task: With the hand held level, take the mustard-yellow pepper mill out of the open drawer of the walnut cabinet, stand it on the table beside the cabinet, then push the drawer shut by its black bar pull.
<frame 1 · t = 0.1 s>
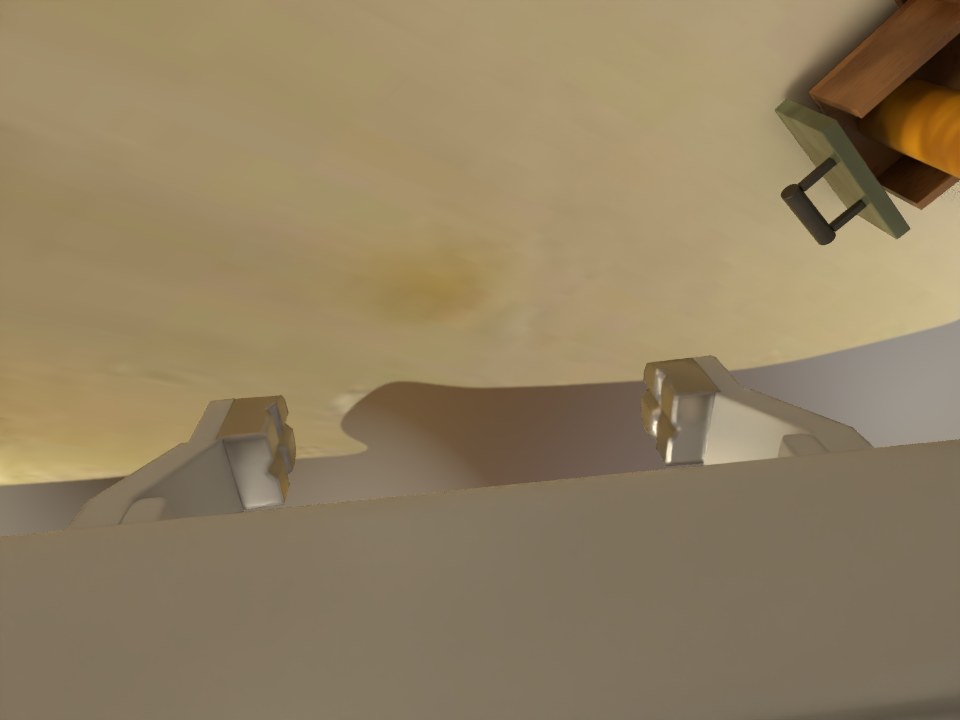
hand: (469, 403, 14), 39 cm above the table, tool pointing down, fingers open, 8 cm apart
drawer: (895, 124, 47), point 4 cm above the table, slide at 9.5 cm, touching pepper mill
pepper mill: (886, 107, 49), point 2 cm above the table, touching drawer
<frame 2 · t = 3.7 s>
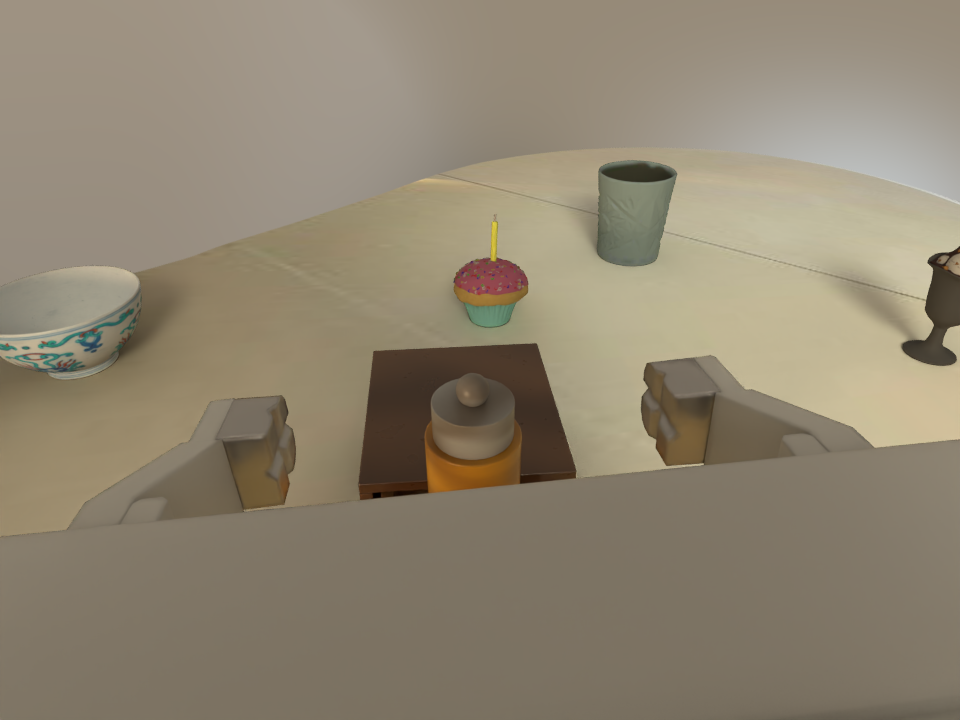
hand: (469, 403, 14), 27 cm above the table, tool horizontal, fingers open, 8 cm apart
sundae: (928, 355, 66), on the table
drawer: (476, 598, 36), point 4 cm above the table, slide at 9.5 cm, touching pepper mill
cabinet: (463, 489, 50), on the table
green embossed cup: (626, 255, 89), on the table
pepper mill: (475, 609, 38), point 2 cm above the table, touching drawer
cupcake: (490, 319, 73), on the table
chinaware: (84, 363, 66), on the table
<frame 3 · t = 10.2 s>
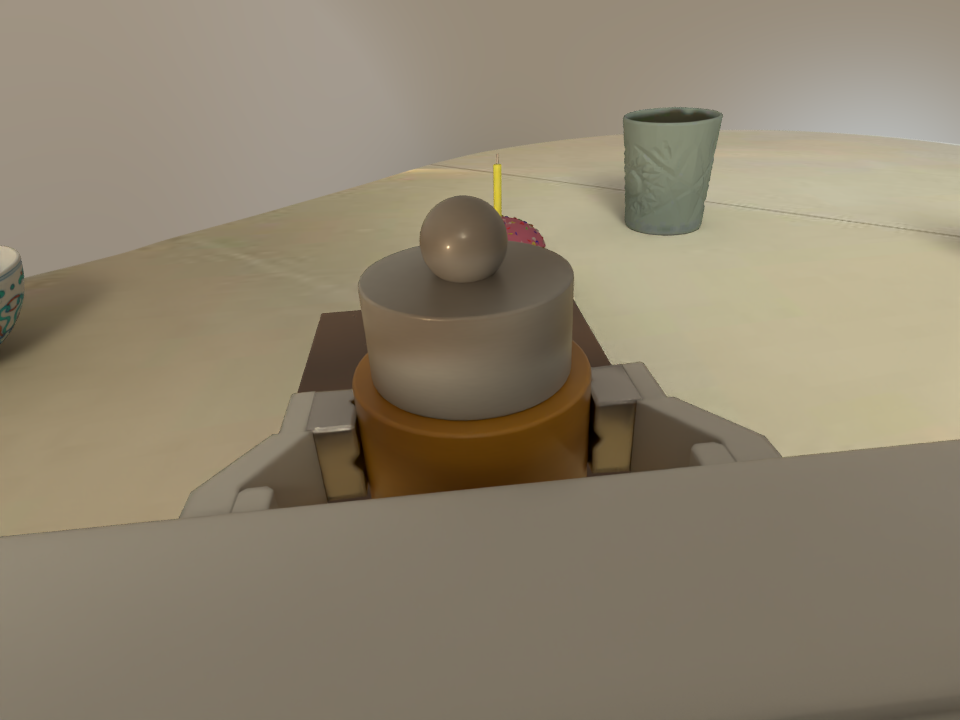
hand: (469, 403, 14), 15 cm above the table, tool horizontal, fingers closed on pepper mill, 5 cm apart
cabinet: (467, 521, 31), on the table
green embossed cup: (661, 225, 72), on the table
cupcake: (497, 298, 56), on the table
when the fingers open (12 cm above the table, at t = 19.2 s): pepper mill stays where it is, on the table.
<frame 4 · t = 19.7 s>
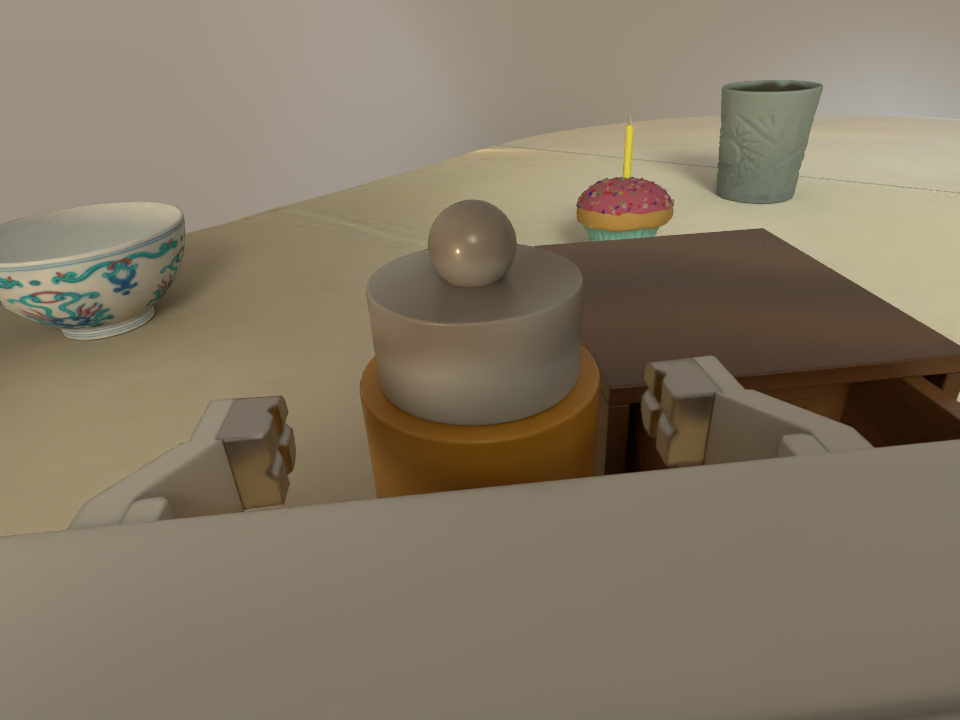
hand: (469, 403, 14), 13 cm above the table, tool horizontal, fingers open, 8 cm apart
drawer: (864, 576, 19), point 4 cm above the table, slide at 9.5 cm
cabinet: (684, 437, 33), on the table
green embossed cup: (753, 196, 74), on the table
cupcake: (621, 257, 58), on the table
chinaware: (111, 323, 50), on the table
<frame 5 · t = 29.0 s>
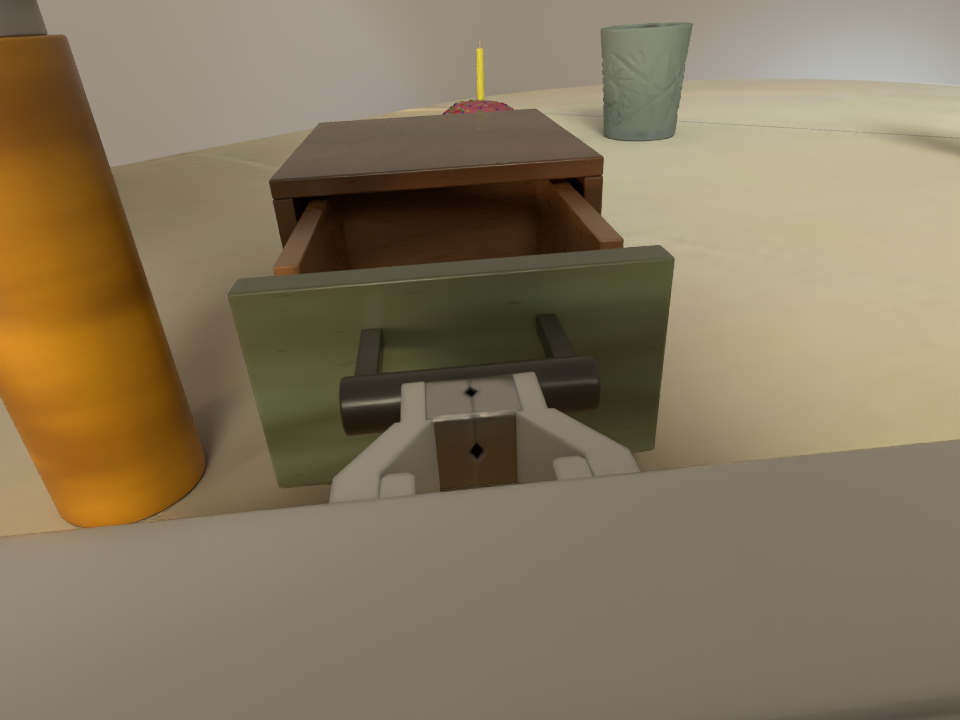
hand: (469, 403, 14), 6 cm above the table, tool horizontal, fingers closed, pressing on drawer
drawer: (453, 311, 23), point 4 cm above the table, slide at 8.5 cm, touching gripper
cabinet: (445, 291, 36), on the table
green embossed cup: (638, 136, 77), on the table
pepper mill: (135, 480, 22), on the table
cupcake: (481, 179, 61), on the table
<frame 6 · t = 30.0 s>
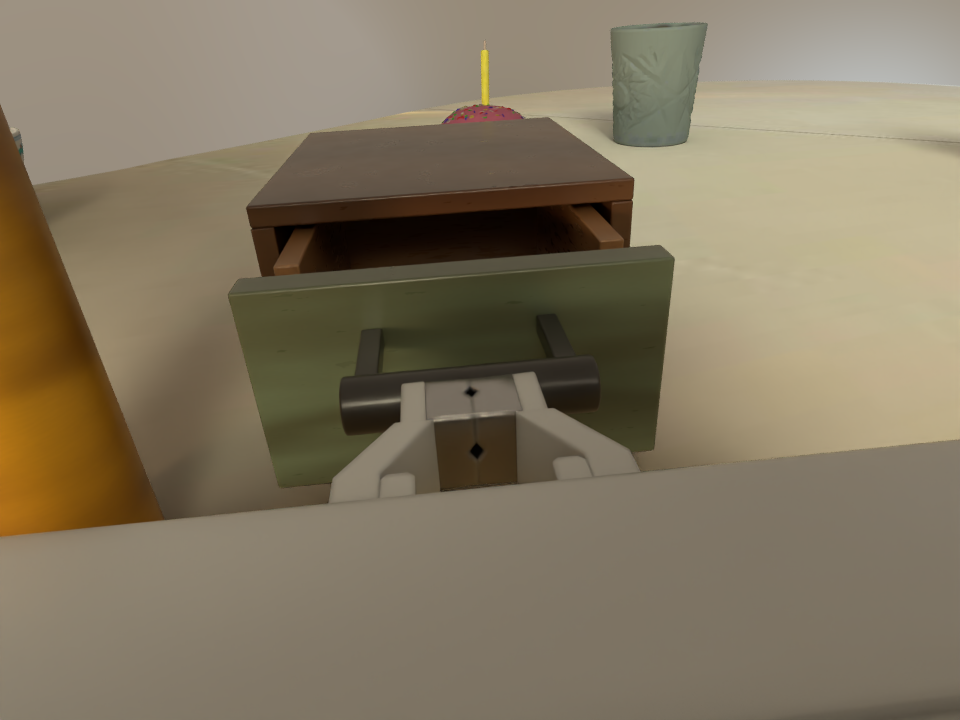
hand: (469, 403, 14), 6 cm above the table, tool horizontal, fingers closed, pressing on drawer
drawer: (453, 311, 23), point 4 cm above the table, slide at 4.5 cm, touching gripper
cabinet: (449, 320, 33), on the table
green embossed cup: (649, 141, 73), on the table
pepper mill: (84, 566, 19), on the table
cupcake: (486, 189, 57), on the table
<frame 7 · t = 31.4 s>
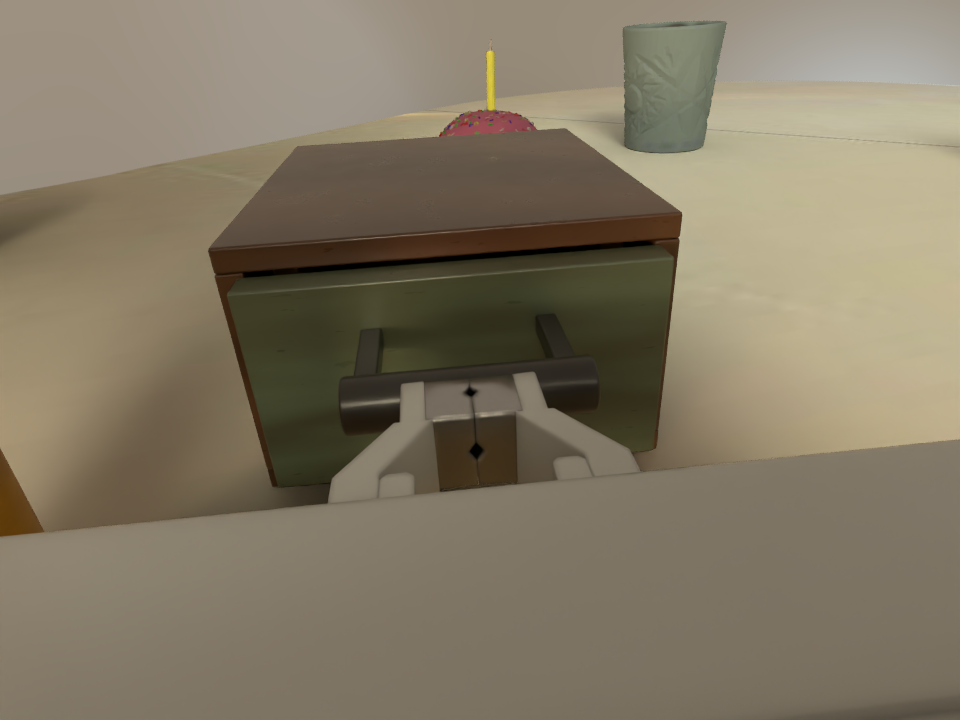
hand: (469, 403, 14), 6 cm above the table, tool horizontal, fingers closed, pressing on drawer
drawer: (452, 310, 23), point 4 cm above the table, slide at 0.0 cm, touching cabinet, gripper
cabinet: (454, 360, 29), on the table
green embossed cup: (662, 147, 69), on the table
cupcake: (491, 200, 53), on the table
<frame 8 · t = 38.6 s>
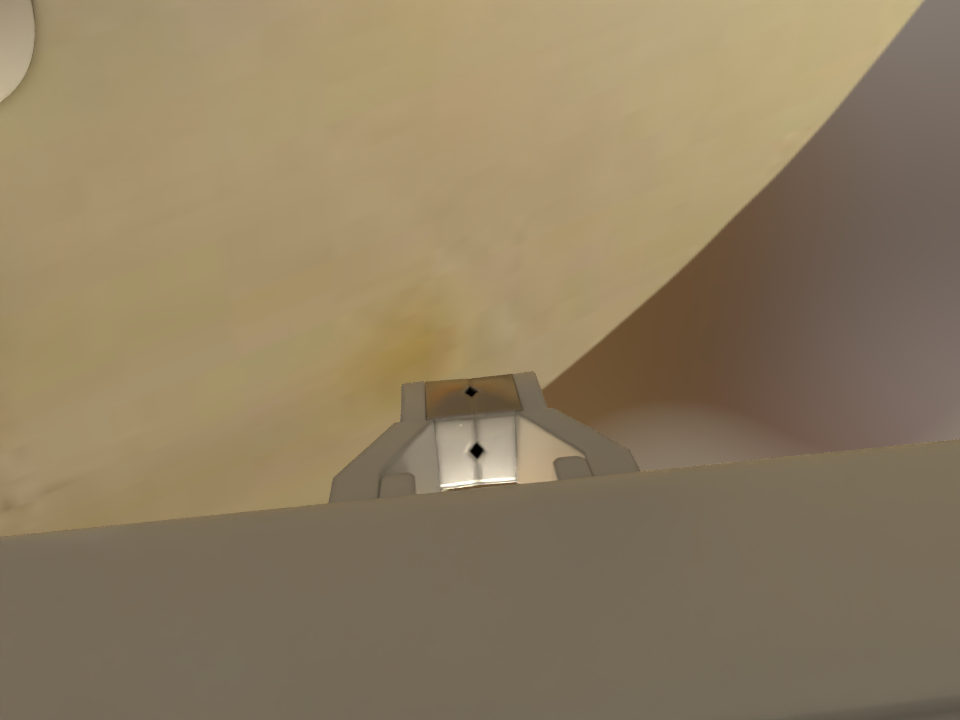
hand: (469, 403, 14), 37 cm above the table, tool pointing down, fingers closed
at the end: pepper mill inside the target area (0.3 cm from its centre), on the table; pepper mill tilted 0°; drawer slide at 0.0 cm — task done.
